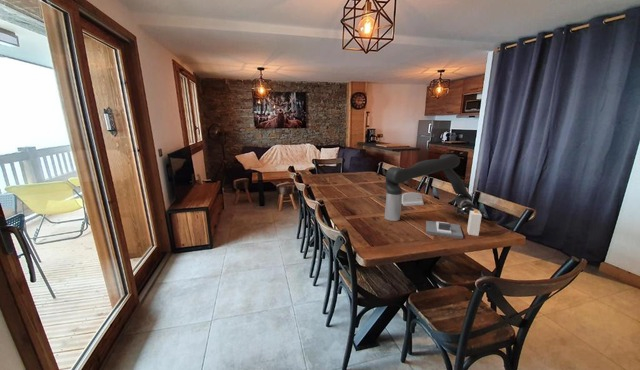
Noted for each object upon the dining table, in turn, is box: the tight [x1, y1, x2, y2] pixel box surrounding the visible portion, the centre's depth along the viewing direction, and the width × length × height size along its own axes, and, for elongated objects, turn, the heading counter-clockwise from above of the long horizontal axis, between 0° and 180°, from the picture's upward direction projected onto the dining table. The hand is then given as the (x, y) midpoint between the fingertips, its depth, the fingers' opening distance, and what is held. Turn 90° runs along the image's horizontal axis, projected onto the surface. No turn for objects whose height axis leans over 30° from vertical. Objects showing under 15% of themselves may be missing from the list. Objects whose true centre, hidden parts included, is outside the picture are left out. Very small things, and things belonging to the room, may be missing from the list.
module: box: [466, 209, 483, 237], centre depth 137 cm, size 5×6×14 cm
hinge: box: [401, 191, 425, 207], centre depth 187 cm, size 17×5×10 cm, turn 98°
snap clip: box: [438, 221, 451, 230], centre depth 139 cm, size 6×2×3 cm, turn 68°
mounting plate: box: [425, 220, 464, 240], centre depth 142 cm, size 18×16×2 cm
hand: (471, 215), depth 145 cm, fingers open, 8 cm apart
